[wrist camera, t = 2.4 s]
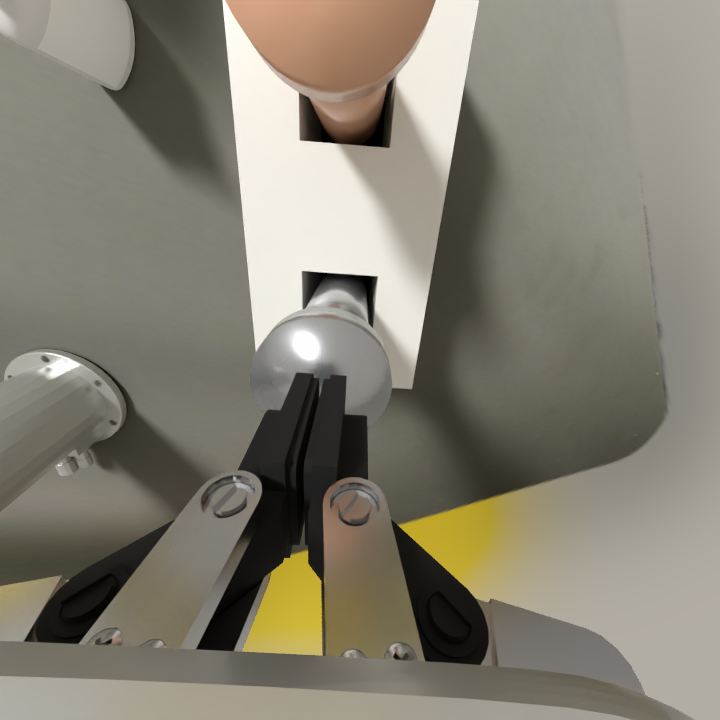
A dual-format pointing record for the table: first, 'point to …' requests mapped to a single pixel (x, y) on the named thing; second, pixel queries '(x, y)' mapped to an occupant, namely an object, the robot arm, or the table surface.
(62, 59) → the eye dropper bottle
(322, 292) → the grey plug
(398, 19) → the terracotta plug
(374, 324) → the block
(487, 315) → the table surface
